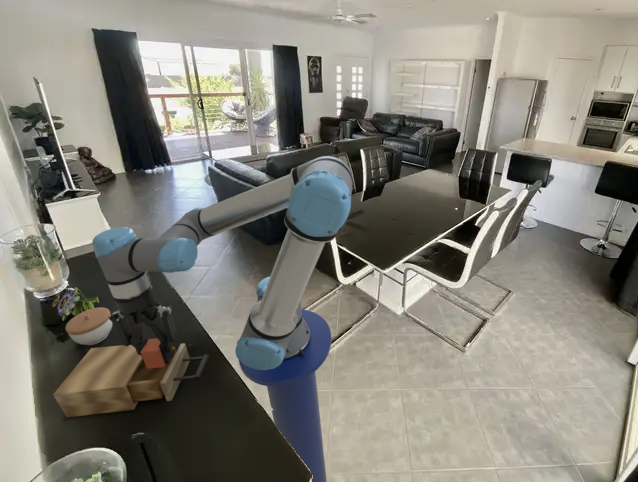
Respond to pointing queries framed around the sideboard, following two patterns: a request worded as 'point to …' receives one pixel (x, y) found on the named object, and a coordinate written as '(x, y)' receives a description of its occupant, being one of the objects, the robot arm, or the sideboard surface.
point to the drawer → (163, 377)
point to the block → (152, 354)
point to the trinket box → (90, 326)
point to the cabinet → (100, 382)
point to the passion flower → (73, 303)
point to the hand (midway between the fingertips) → (159, 360)
